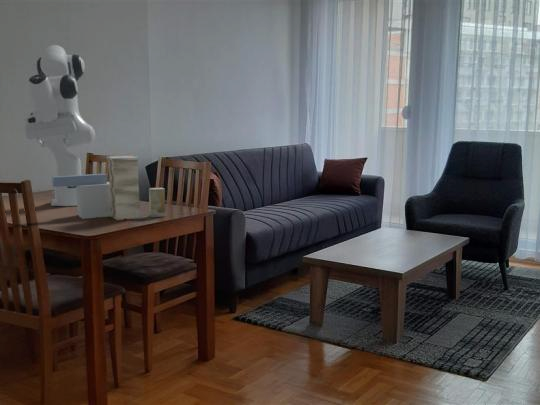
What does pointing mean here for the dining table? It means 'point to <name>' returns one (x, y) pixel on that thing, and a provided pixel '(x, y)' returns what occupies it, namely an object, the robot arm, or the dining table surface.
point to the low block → (93, 200)
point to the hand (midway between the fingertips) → (54, 144)
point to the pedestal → (124, 187)
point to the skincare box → (156, 202)
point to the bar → (79, 180)
